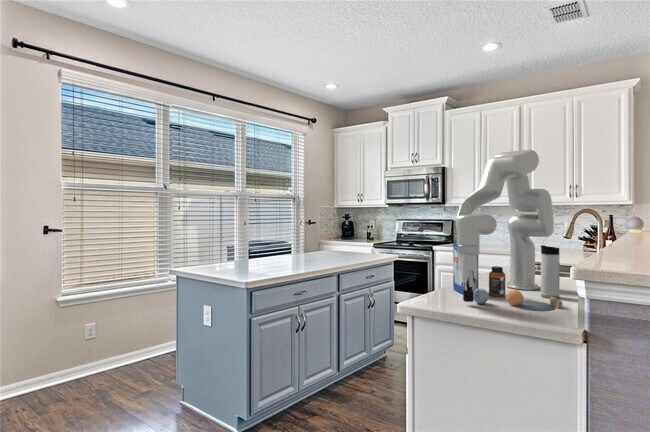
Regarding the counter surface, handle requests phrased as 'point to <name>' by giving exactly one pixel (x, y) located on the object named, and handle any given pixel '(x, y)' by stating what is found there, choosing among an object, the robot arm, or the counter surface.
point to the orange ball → (514, 297)
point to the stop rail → (556, 302)
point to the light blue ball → (480, 296)
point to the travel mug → (550, 271)
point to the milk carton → (456, 282)
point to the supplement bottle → (497, 282)
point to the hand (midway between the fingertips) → (468, 301)
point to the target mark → (535, 306)
